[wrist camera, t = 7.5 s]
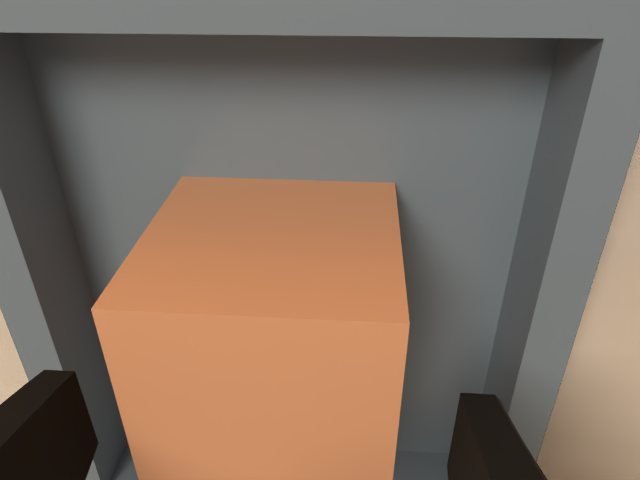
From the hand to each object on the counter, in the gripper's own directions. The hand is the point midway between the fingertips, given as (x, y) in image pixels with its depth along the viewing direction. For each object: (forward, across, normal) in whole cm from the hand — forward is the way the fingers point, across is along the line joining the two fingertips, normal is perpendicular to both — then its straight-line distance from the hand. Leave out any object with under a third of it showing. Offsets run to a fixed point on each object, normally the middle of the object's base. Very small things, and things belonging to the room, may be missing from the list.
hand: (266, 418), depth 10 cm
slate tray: (+5, 0, 0) cm, 5 cm away
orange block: (+4, 0, 0) cm, 5 cm away
